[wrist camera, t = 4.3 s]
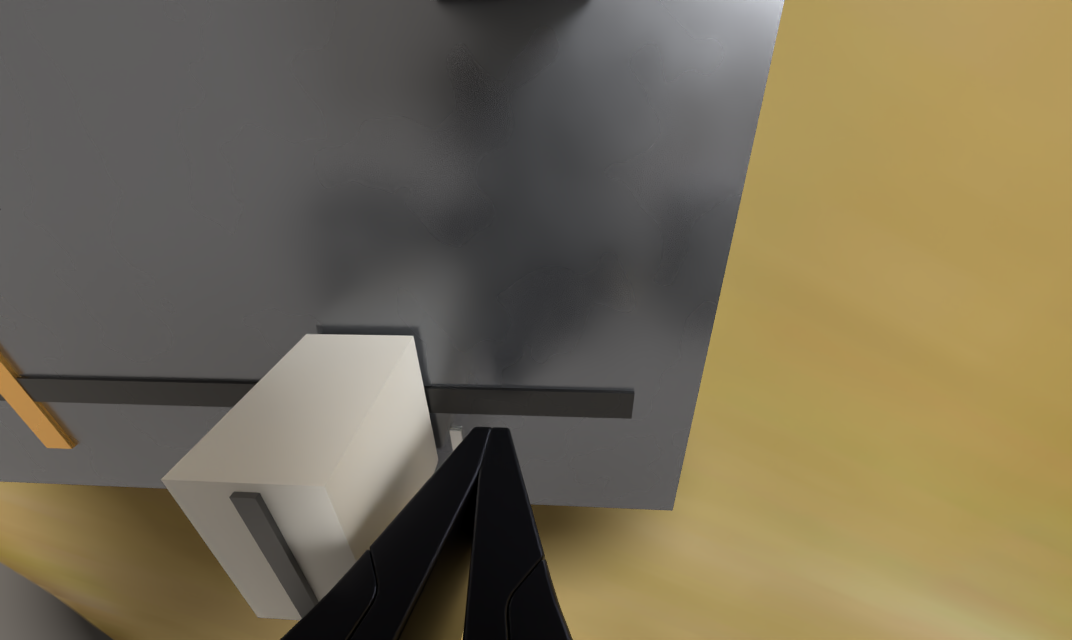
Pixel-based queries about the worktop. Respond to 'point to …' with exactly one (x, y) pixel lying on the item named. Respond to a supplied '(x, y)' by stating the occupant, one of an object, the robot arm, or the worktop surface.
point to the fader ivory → (310, 468)
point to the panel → (371, 219)
